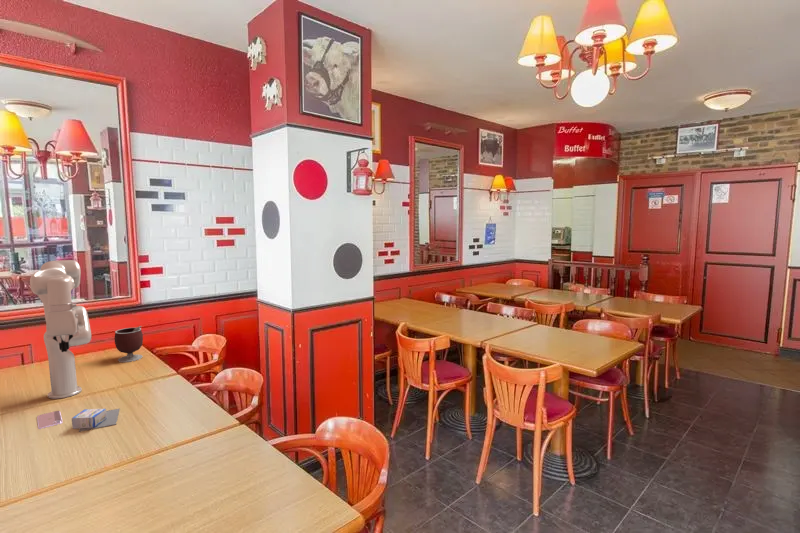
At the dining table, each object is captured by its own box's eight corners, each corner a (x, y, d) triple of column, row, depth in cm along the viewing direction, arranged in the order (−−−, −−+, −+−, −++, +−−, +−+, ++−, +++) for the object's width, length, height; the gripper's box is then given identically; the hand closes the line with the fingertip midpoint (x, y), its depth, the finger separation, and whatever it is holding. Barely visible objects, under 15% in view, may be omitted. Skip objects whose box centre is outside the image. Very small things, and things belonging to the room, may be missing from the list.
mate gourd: (110, 362, 245) (107, 328, 243) (129, 354, 259) (126, 322, 257) (134, 363, 243) (131, 329, 241) (152, 355, 257) (149, 323, 254)
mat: (85, 415, 179) (85, 414, 179) (119, 409, 185) (119, 408, 185) (78, 431, 165) (78, 431, 165) (116, 424, 171) (115, 424, 171)
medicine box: (84, 409, 175) (106, 408, 175) (85, 419, 175) (107, 418, 176) (70, 418, 167) (94, 416, 167) (72, 429, 167) (95, 427, 168)
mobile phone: (59, 409, 184) (62, 421, 172) (60, 411, 184) (63, 424, 173) (36, 415, 179) (38, 428, 167) (36, 417, 179) (38, 430, 168)
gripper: (84, 304, 183) (88, 346, 186) (39, 307, 176) (44, 351, 178) (81, 307, 177) (85, 350, 179) (35, 311, 170) (39, 356, 172)
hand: (64, 351), depth 179 cm, fingers closed
